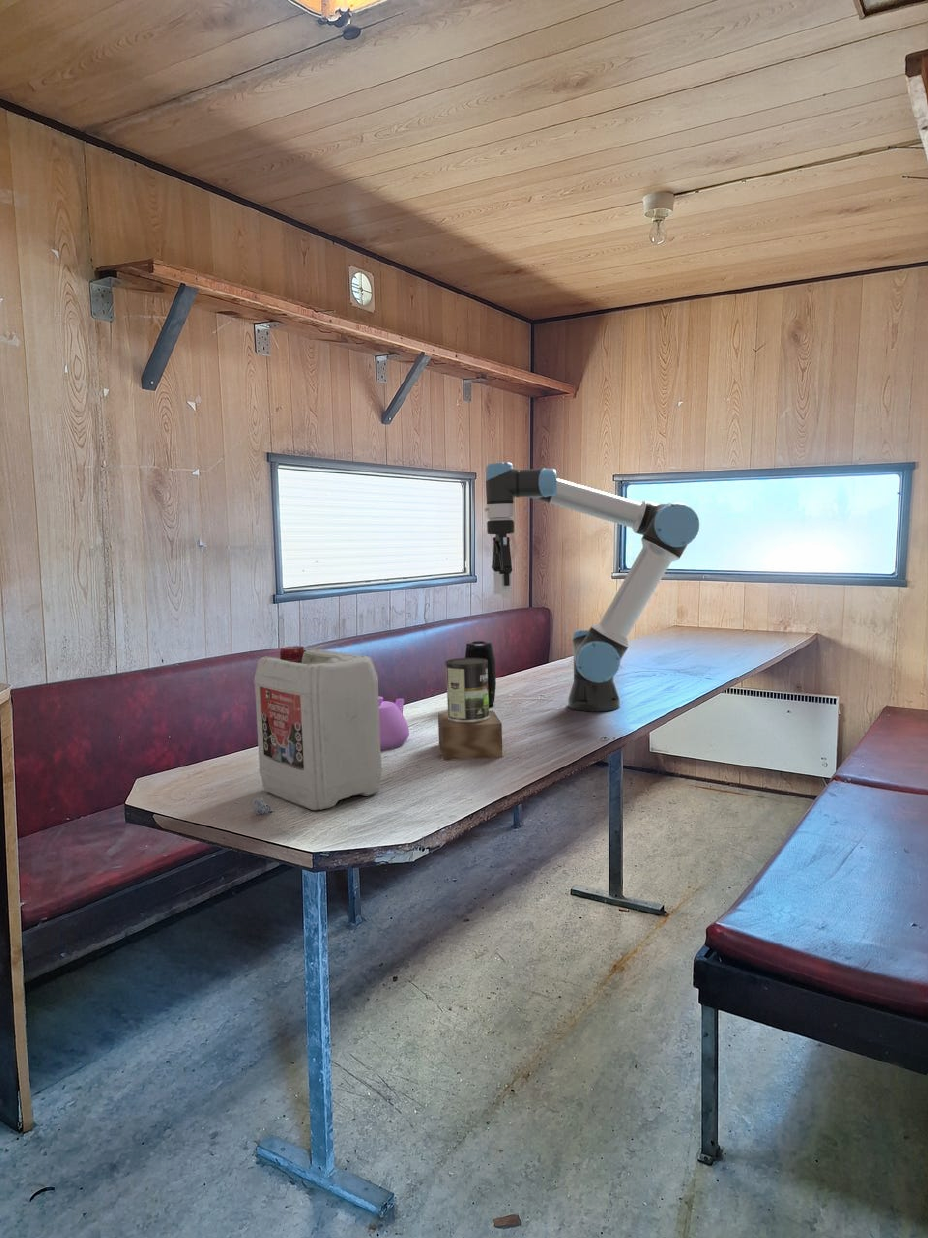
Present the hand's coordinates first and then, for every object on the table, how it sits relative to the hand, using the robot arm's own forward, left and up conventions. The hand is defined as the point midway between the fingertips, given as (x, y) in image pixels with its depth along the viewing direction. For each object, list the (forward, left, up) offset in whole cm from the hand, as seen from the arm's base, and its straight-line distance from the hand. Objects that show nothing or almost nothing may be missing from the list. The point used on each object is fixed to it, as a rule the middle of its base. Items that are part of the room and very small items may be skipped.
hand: (502, 596), depth 225 cm
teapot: (+36, +20, -35) cm, 54 cm away
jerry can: (+48, +57, -35) cm, 82 cm away
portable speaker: (+5, -16, -35) cm, 39 cm away
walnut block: (+14, +32, -35) cm, 49 cm away
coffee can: (+14, +32, -27) cm, 44 cm away
